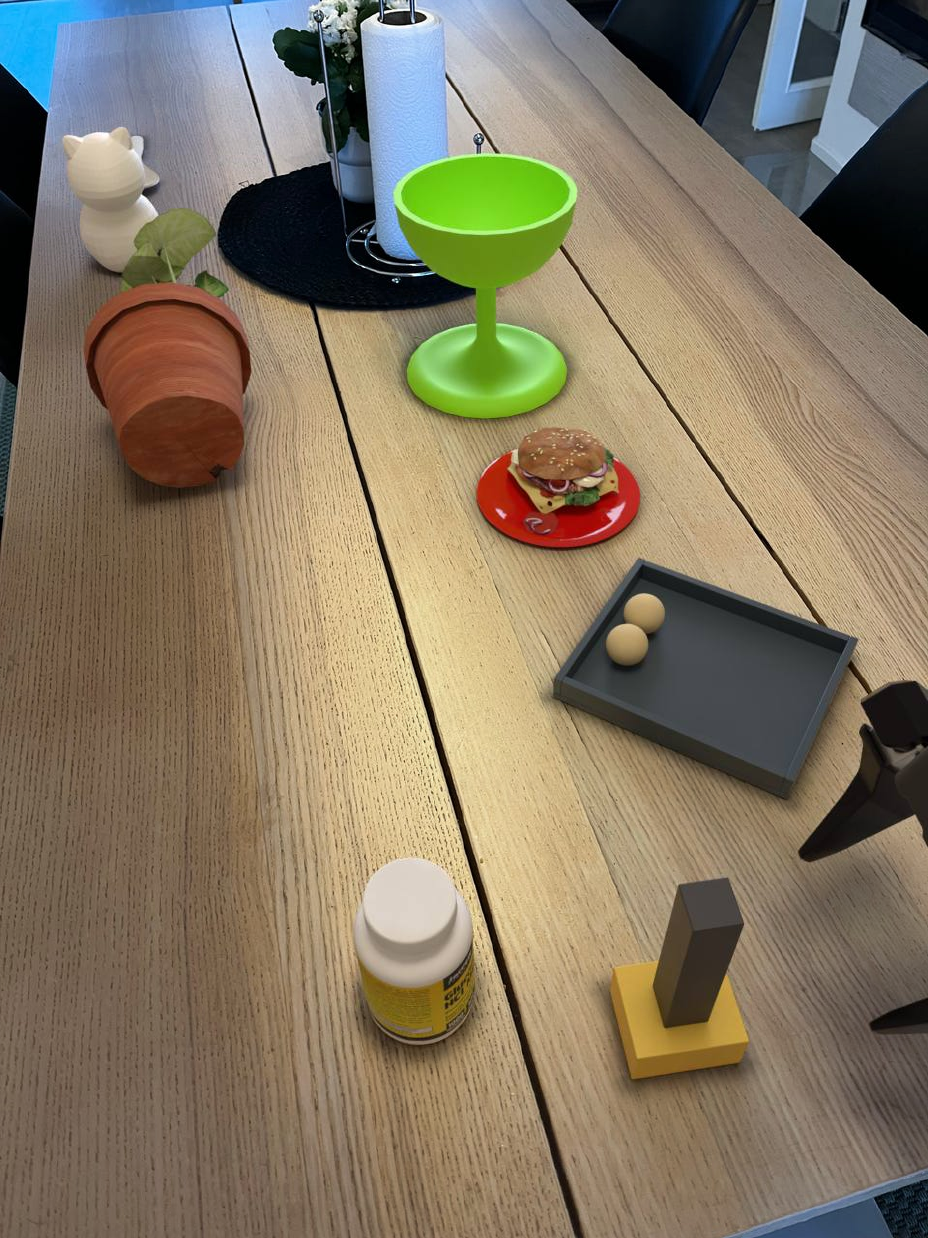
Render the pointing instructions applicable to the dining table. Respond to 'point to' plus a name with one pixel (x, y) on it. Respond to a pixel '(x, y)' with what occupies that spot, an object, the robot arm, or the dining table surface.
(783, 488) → the dining table surface
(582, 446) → the hamburger
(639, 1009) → the grey and yellow block
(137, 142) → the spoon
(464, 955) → the pill bottle
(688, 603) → the tray
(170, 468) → the potted plant
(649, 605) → the crumb
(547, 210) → the wineglass
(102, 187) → the cat figurine
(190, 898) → the dining table surface
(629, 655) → the crumb
